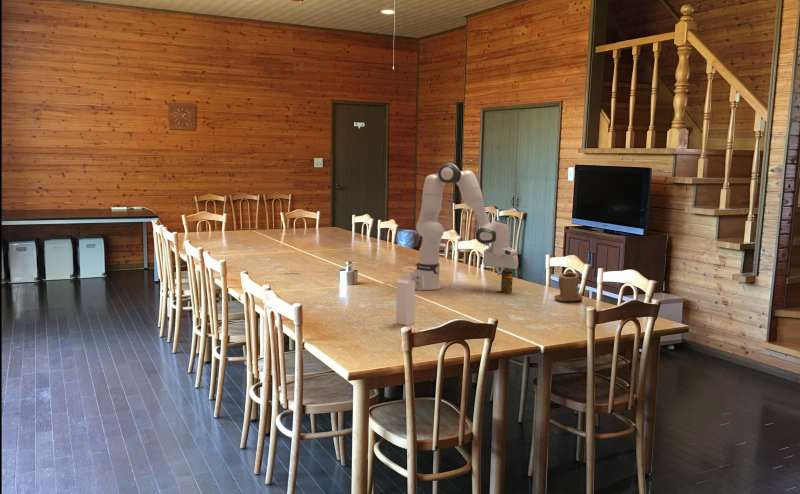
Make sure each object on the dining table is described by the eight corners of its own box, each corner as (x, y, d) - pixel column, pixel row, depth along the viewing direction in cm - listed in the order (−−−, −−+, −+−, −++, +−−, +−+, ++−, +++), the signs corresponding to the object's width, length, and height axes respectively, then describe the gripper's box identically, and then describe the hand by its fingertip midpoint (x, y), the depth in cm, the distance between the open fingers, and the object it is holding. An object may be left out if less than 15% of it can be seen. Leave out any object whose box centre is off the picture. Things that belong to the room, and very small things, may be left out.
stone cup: (560, 304, 337) (562, 275, 335) (551, 298, 349) (552, 271, 347) (588, 303, 340) (590, 274, 338) (578, 298, 352) (579, 270, 350)
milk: (403, 320, 299) (404, 273, 296) (414, 323, 296) (415, 274, 293) (395, 323, 294) (396, 274, 292) (406, 325, 291) (407, 276, 288)
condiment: (515, 293, 362) (516, 271, 361) (503, 294, 358) (504, 273, 356) (506, 290, 368) (507, 269, 367) (494, 292, 364) (495, 270, 362)
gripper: (481, 249, 365) (480, 273, 367) (514, 252, 354) (514, 277, 356) (486, 247, 370) (485, 272, 372) (519, 251, 359) (519, 276, 361)
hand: (499, 274), depth 364 cm, fingers closed, pressing on condiment
